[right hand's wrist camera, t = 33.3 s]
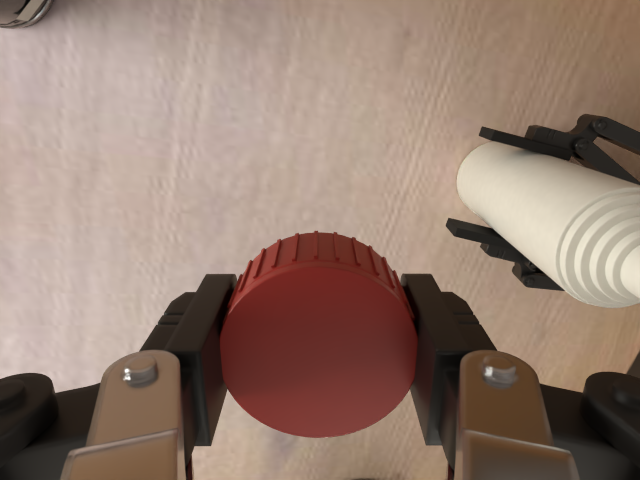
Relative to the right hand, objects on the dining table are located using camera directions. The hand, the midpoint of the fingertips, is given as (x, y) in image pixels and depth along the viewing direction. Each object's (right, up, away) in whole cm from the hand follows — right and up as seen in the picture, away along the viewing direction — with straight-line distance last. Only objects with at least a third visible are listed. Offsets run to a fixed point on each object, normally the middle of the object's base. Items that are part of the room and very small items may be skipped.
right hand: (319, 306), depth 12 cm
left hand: (+12, +7, +25) cm, 28 cm away
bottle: (+17, +8, +31) cm, 36 cm away
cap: (0, -1, -2) cm, 2 cm away
